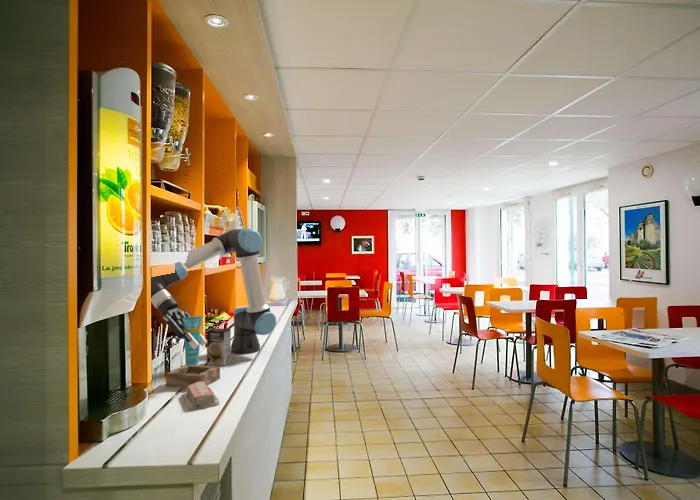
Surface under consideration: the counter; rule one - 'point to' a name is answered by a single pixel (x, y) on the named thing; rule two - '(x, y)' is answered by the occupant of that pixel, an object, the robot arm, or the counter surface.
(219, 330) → the coffee box
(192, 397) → the packaged product
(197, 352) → the tube
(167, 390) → the counter surface
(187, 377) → the collar
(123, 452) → the counter surface
